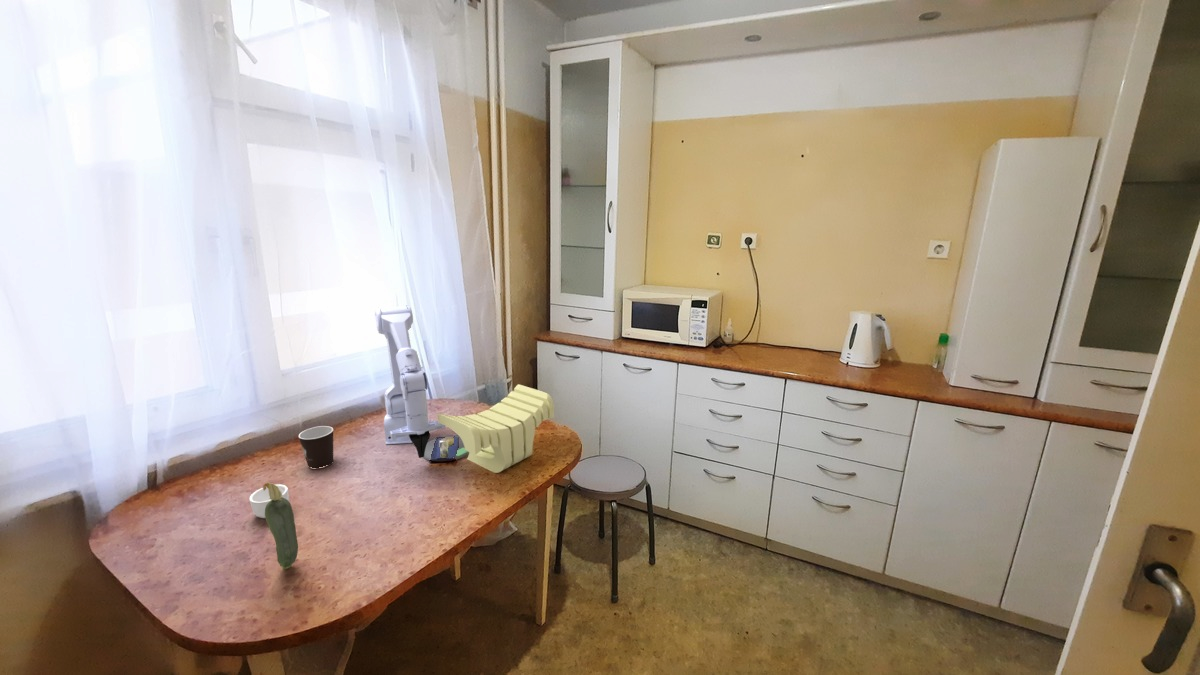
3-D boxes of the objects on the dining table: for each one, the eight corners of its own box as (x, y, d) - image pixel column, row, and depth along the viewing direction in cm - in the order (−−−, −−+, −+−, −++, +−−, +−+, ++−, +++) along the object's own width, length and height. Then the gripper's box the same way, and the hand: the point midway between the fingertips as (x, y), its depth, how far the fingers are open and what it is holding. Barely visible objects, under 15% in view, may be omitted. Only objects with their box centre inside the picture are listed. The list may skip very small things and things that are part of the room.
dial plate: (416, 464, 134) (415, 460, 134) (427, 439, 150) (427, 436, 149) (472, 460, 137) (471, 456, 136) (477, 436, 152) (477, 433, 152)
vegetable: (306, 561, 96) (291, 475, 91) (294, 576, 91) (277, 488, 87) (285, 561, 96) (268, 476, 91) (271, 577, 91) (253, 488, 86)
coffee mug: (335, 468, 132) (330, 436, 130) (300, 473, 129) (295, 441, 126) (341, 449, 142) (336, 420, 140) (309, 454, 139) (304, 424, 137)
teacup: (294, 513, 112) (291, 493, 110) (256, 527, 106) (251, 506, 105) (285, 496, 118) (282, 477, 117) (249, 508, 113) (245, 489, 112)
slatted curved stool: (477, 490, 122) (473, 428, 117) (442, 470, 131) (437, 413, 127) (554, 447, 145) (553, 395, 140) (520, 433, 154) (518, 384, 150)
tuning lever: (443, 442, 144) (442, 428, 143) (455, 442, 145) (454, 427, 144) (437, 458, 135) (436, 443, 133) (450, 457, 135) (449, 442, 134)
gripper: (391, 423, 122) (396, 468, 125) (446, 411, 129) (450, 455, 133) (387, 413, 128) (392, 457, 131) (440, 403, 135) (444, 445, 138)
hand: (421, 456), depth 132 cm, fingers closed
